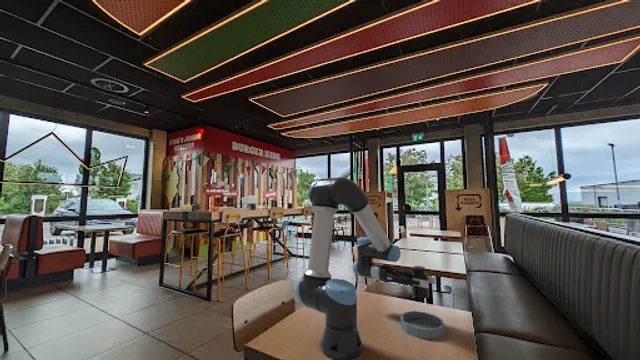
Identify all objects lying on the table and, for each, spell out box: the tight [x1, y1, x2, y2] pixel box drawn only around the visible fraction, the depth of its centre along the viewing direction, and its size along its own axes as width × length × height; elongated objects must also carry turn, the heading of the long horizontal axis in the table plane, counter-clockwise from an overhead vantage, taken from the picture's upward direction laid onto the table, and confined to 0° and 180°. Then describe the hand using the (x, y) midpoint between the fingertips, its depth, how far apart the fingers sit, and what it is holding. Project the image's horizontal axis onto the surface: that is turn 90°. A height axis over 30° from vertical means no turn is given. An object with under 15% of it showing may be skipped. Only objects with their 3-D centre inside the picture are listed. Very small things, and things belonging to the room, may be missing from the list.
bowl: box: [400, 310, 445, 340], centre depth 112 cm, size 17×17×4 cm
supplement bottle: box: [411, 265, 430, 299], centre depth 114 cm, size 7×7×12 cm
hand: (431, 282), depth 110 cm, fingers closed on supplement bottle, 7 cm apart
